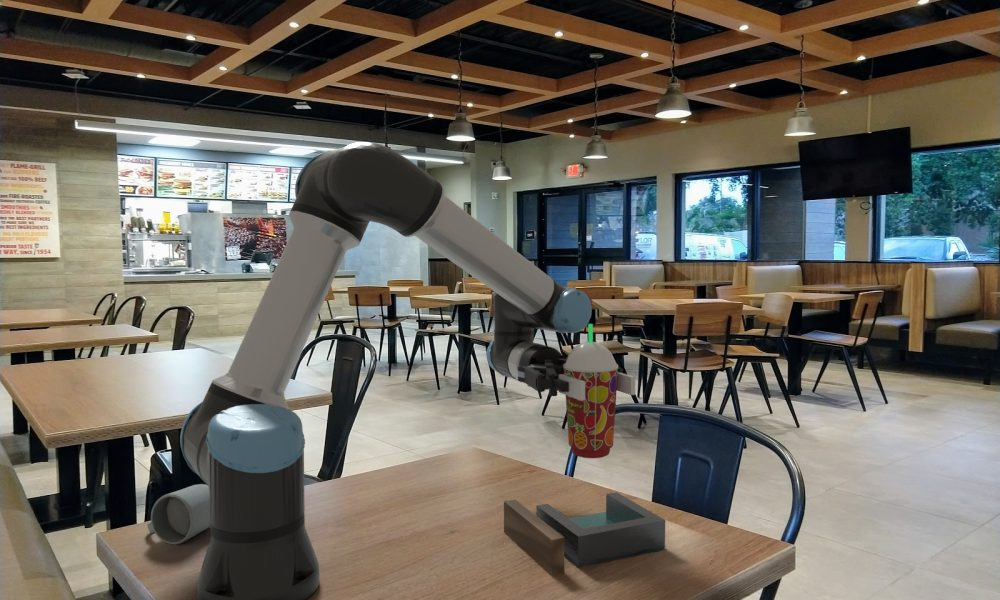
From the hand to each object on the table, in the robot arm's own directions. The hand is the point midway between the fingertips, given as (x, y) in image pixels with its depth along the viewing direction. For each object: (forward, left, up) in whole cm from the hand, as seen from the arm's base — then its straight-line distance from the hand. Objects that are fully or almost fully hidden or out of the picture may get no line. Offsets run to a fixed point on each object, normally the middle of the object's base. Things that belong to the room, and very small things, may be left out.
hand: (608, 388), depth 99 cm
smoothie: (0, +5, -11) cm, 12 cm away
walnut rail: (-10, +5, -24) cm, 27 cm away
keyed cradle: (+1, +5, -24) cm, 25 cm away
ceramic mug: (-58, +32, -25) cm, 71 cm away
